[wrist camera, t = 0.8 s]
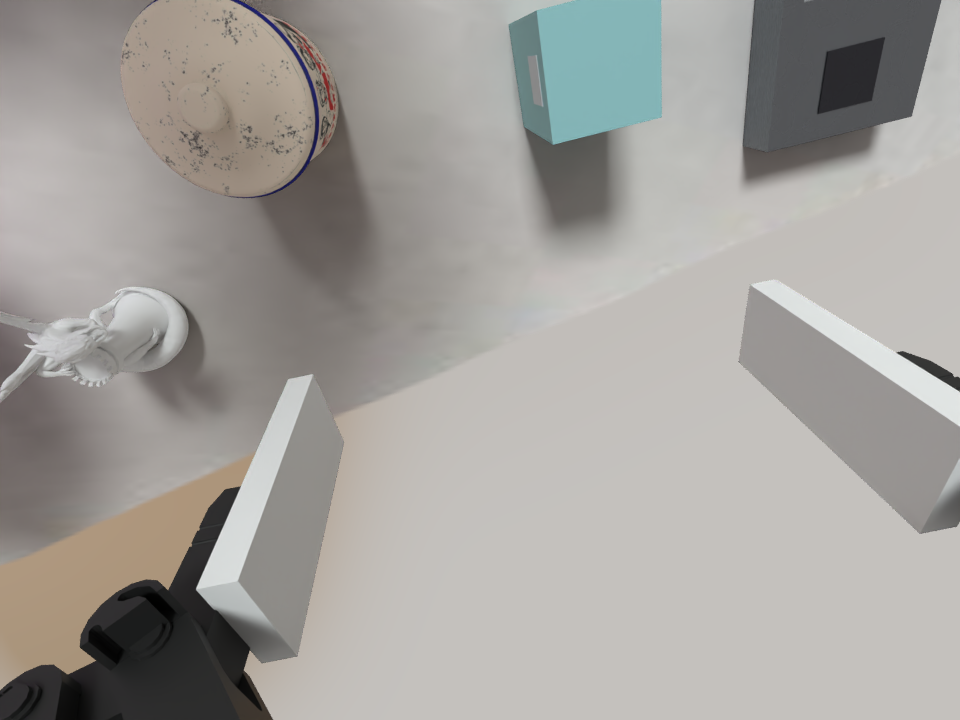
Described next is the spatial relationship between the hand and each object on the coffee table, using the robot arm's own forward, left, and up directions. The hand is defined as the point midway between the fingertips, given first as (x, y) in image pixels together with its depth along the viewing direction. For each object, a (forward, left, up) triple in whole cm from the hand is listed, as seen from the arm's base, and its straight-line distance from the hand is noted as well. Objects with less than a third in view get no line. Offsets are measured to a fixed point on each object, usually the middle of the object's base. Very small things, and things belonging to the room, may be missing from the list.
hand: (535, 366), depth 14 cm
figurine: (+2, -28, -25) cm, 38 cm away
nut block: (-6, +8, -24) cm, 26 cm away
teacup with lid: (-10, -11, -25) cm, 29 cm away
